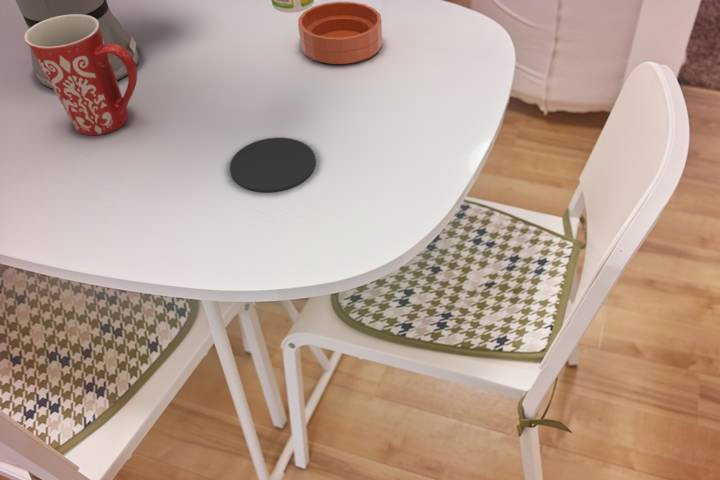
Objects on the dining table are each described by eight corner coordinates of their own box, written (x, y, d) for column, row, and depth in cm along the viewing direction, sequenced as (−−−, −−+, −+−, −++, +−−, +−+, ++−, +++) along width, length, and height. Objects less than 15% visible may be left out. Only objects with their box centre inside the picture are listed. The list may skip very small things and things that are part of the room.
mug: (53, 135, 84) (7, 42, 74) (90, 100, 90) (51, 10, 80) (136, 147, 82) (100, 53, 72) (168, 110, 88) (138, 19, 78)
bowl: (287, 42, 102) (283, 15, 99) (354, 20, 107) (353, -6, 104) (327, 75, 95) (324, 47, 91) (397, 50, 100) (397, 23, 97)
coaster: (216, 159, 80) (215, 156, 80) (290, 130, 85) (290, 128, 84) (253, 204, 74) (253, 201, 74) (331, 170, 78) (331, 168, 78)
